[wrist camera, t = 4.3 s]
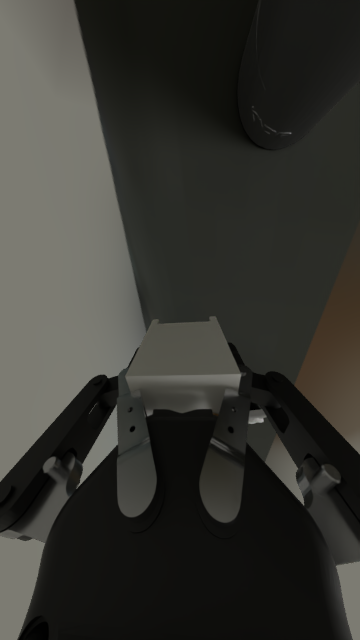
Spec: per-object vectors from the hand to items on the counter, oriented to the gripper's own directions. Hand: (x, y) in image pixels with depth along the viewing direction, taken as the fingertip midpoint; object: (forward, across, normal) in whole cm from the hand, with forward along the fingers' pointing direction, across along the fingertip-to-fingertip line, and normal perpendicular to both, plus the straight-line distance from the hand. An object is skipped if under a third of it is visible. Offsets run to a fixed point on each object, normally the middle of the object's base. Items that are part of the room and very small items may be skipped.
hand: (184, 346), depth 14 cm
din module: (+1, 0, 0) cm, 1 cm away
